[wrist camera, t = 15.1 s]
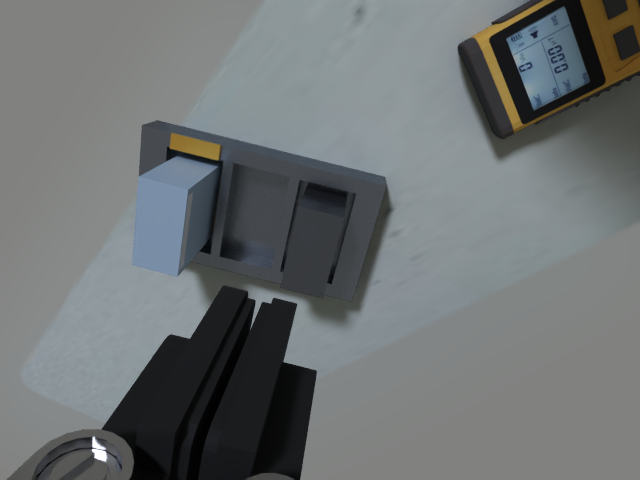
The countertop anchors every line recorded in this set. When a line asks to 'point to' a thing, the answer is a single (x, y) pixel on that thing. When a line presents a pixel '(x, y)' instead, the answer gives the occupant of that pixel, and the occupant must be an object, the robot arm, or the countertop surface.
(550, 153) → the countertop surface
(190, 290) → the countertop surface
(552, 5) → the electronic device
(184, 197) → the light blue block
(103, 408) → the countertop surface
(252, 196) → the rack
